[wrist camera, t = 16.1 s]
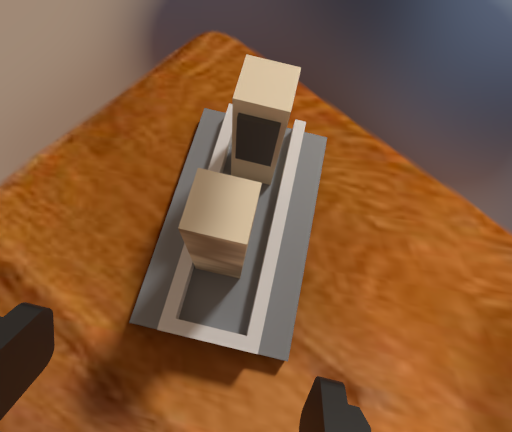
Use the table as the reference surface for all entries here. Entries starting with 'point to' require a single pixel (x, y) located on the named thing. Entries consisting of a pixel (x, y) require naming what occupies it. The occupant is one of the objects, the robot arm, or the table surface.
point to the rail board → (263, 230)
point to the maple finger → (219, 221)
